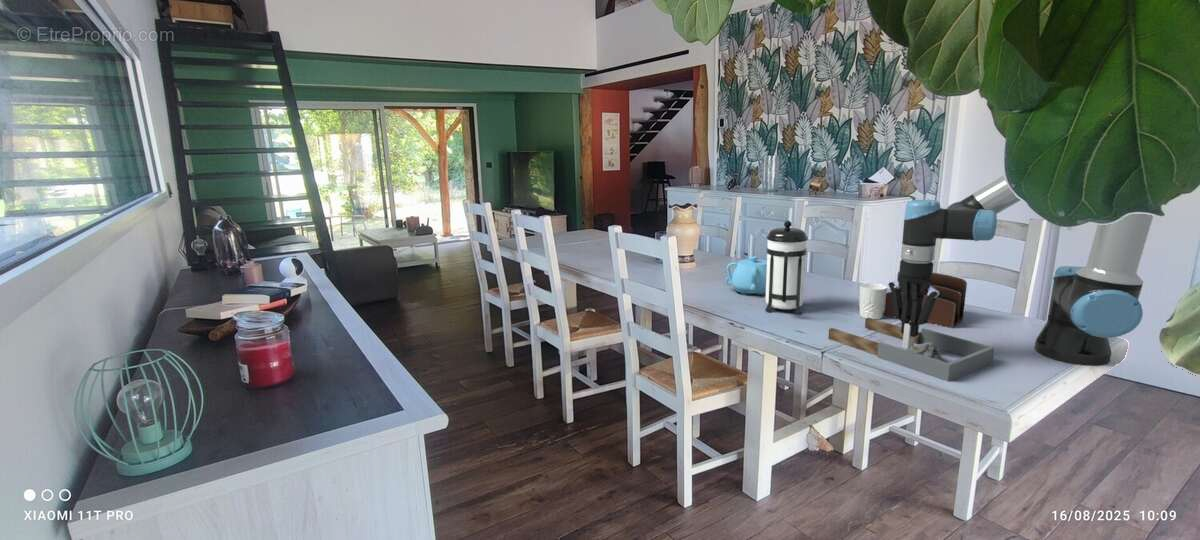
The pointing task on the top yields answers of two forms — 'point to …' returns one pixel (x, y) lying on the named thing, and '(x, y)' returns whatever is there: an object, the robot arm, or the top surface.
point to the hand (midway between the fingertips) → (907, 346)
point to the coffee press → (785, 268)
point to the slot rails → (866, 343)
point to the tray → (973, 360)
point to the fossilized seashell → (926, 350)
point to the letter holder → (941, 300)
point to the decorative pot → (748, 276)
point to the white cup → (872, 300)
